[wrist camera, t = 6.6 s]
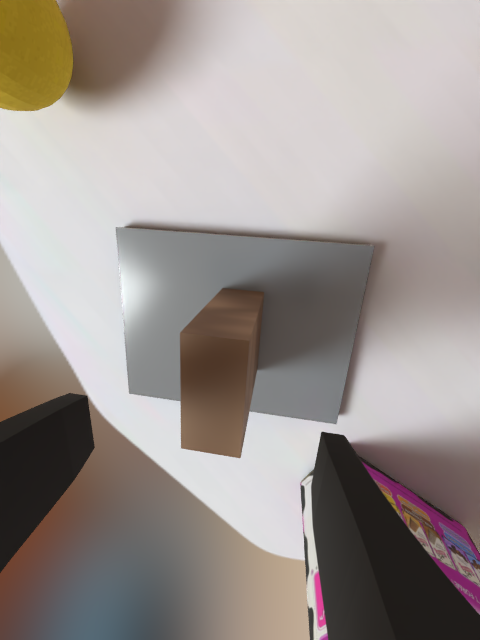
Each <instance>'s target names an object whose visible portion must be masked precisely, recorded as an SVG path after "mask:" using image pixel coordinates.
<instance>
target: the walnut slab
mask: <svg viewBox="0 0 480 640" xmlns="http://www.w3.org/2000/svg"><path fill="white" fill-rule="evenodd" d="M263 301H264V292H258V291H247V290H236V289H226V288H222V289H221V290H220V291H219V292H218V293H217V294H216V295H215V296H214V298H213V299H212V300H211V301H210V302H209V303H208V304H207V305H206V306H205V307H204V308H203V309H202V310H201V311H200V312H199V313H198V314H197V315H196V316H195V317H194V318H193V320H192V321H191V322H190V323H189V324H188V325H187V326H186V327H185V328H184V329H183V330H182V331H181V332H180V387H181V448H183V449H189V450H195V451H200V452H206V453H212V454H218V455H224V456H230V457H236V458H240V457H241V452H242V447H243V442H244V436H245V431H246V426H247V421H248V416H249V410H250V405H251V400H252V395H253V389H254V384H255V379H256V374H257V366H258V355H259V344H260V333H261V322H262V311H263Z"/></svg>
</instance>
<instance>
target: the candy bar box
mask: <svg viewBox="0 0 480 640" xmlns="http://www.w3.org/2000/svg"><path fill="white" fill-rule="evenodd" d="M358 457H359V456H358ZM359 458H360V457H359ZM360 460H361V462H362V463H363V465H364V466H365V468H366V469H367V471H368V472H369V473H370V475H371V476H372V478H373V479H374V481H375V482H376V484H377V485H378V487H379V488H380V489H381V491H382V492H383V494H384V495H385V496H386V498H387V499H388V501H389V502H390V503H391V505H392V506H393V508H394V509H395V510H396V512H397V513H398V514H399V516H400V517H401V519H402V520H403V521H404V523H405V524H406V525H407V527H408V528H409V529H410V531H411V532H412V533H413V534H414V536H415V537H416V538H417V540H418V541H419V542H420V543H421V545H422V546H423V547H424V548H425V550H426V551H427V552H428V554H429V555H430V556H431V557H432V559H433V560H434V561H435V562H436V564H437V565H438V566H439V567H440V569H441V570H442V571H443V572H444V573H445V575H446V576H447V577H448V578H449V580H450V581H451V582H452V583H453V584H454V586H455V587H456V588H457V589H458V590H459V591H460V593H461V594H462V595H463V596H464V597H465V598H466V600H467V601H468V602H469V603H470V604H471V605H472V606H473V608H474V609H475V610H476V611H477V612H478V613H479V615H480V553H479V552H478V550H477V548H476V546H475V545H474V543H473V541H472V539H471V538H470V536H469V534H468V532H467V531H466V529H465V527H464V526H462V525H461V524H460V523H458V522H457V521H455V520H454V519H452V518H451V517H449V516H448V515H446V514H445V513H443V512H442V511H440V510H439V509H437V508H436V507H434V506H432V505H431V504H429V503H428V502H426V501H425V500H423V499H422V498H420V497H419V496H417V495H416V494H414V493H413V492H411V491H410V490H408V489H406V488H405V487H403V486H402V485H400V484H399V483H398V482H396V481H395V480H393V479H392V478H390V477H389V476H387V475H386V474H384V473H383V472H381V471H380V470H378V469H377V468H375V467H374V466H372V465H371V464H369V463H368V462H366V461H365V460H363V459H362V458H360ZM313 473H314V470H313V471H312V472H311V473H309V474H308V475H307V476H306V477H305V478H304V479H303V480H302V481H301V483H300V485H301V501H302V516H303V533H304V551H305V565H306V581H307V602H308V616H309V631H310V640H328V635H327V627H326V620H325V613H324V606H323V599H322V591H321V584H320V577H319V570H318V563H317V555H316V548H315V541H314V533H313V524H312V501H311V483H312V478H313Z"/></svg>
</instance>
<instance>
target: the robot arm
mask: <svg viewBox="0 0 480 640" xmlns="http://www.w3.org/2000/svg"><path fill="white" fill-rule="evenodd" d="M93 449H94V441H93V434H92V426H91V420H90V412H89V405H88V397H87V396H85V395H78V394H71V393H69V394H66V395H63V396H60V397H58V398H56V399H53V400H50V401H48V402H46V403H43V404H41V405H38V406H36V407H34V408H31V409H29V410H27V411H25V412H22V413H20V414H18V415H15V416H13V417H11V418H8V419H6V420H4V421H2V422H0V572H1V571H2V570H3V569H4V567H5V566H6V565H7V563H8V562H9V561H10V559H11V558H12V557H13V556H14V554H15V553H16V552H17V551H18V550H19V548H20V547H21V546H22V545H23V543H24V542H25V541H26V540H27V538H28V537H29V536H30V535H31V533H32V532H33V531H34V530H35V528H36V527H37V526H38V525H39V523H40V522H41V521H42V520H43V519H44V517H45V516H46V515H47V514H48V512H49V511H50V510H51V509H52V507H53V506H54V505H55V504H56V502H57V501H58V500H59V499H60V497H61V496H62V495H63V494H64V492H65V491H66V490H67V488H68V487H69V486H70V485H71V483H72V482H73V481H74V479H75V478H76V476H77V475H78V473H79V472H80V470H81V469H82V467H83V466H84V464H85V462H86V461H87V459H88V458H89V456H90V454H91V452H92V451H93ZM311 501H312V524H313V533H314V541H315V548H316V555H317V563H318V570H319V577H320V584H321V591H322V599H323V606H324V613H325V620H326V627H327V635H328V640H480V615H479V613H478V612H477V611H476V610H475V609H474V608H473V606H472V605H471V604H470V603H469V602H468V601H467V600H466V598H465V597H464V596H463V595H462V594H461V593H460V591H459V590H458V589H457V588H456V587H455V586H454V584H453V583H452V582H451V581H450V580H449V578H448V577H447V576H446V575H445V573H444V572H443V571H442V570H441V569H440V567H439V566H438V565H437V564H436V562H435V561H434V560H433V559H432V557H431V556H430V555H429V554H428V552H427V551H426V550H425V548H424V547H423V546H422V545H421V543H420V542H419V541H418V540H417V538H416V537H415V536H414V534H413V533H412V532H411V531H410V529H409V528H408V527H407V525H406V524H405V523H404V521H403V520H402V519H401V517H400V516H399V514H398V513H397V512H396V510H395V509H394V508H393V506H392V505H391V503H390V502H389V501H388V499H387V498H386V496H385V495H384V494H383V492H382V491H381V489H380V488H379V487H378V485H377V484H376V482H375V481H374V479H373V478H372V476H371V475H370V473H369V472H368V471H367V469H366V468H365V466H364V465H363V463H362V462H361V460H360V458H359V457H358V455H357V454H356V452H355V451H354V449H353V448H352V446H351V445H350V443H349V442H348V440H347V439H346V437H345V436H344V435H339V434H332V433H326V432H321V437H320V442H319V447H318V453H317V458H316V463H315V468H314V473H313V478H312V483H311Z"/></svg>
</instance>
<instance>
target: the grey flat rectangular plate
mask: <svg viewBox="0 0 480 640" xmlns="http://www.w3.org/2000/svg"><path fill="white" fill-rule="evenodd" d="M116 237H117V250H118V262H119V274H120V286H121V299H122V311H123V323H124V336H125V348H126V360H127V372H128V385H129V394H136V395H142V396H149V397H156V398H163V399H169V400H176V401H181V387H180V332H181V331H182V330H183V329H184V328H185V327H186V326H187V325H188V324H189V323H190V322H191V321H192V320H193V318H194V317H195V316H196V315H197V314H198V313H199V312H200V311H201V310H202V309H203V308H204V307H205V306H206V305H207V304H208V303H209V302H210V301H211V300H212V299H213V298H214V296H215V295H216V294H217V293H218V292H219V291H220V290H221V289H222V288H226V289H236V290H247V291H258V292H264V301H263V311H262V322H261V333H260V344H259V355H258V366H257V374H256V379H255V384H254V389H253V395H252V400H251V405H250V410H249V411H251V412H257V413H264V414H271V415H278V416H284V417H291V418H298V419H305V420H312V421H318V422H325V423H332V424H337V419H338V414H339V410H340V405H341V400H342V396H343V391H344V386H345V382H346V377H347V372H348V368H349V363H350V358H351V354H352V349H353V344H354V340H355V335H356V330H357V326H358V321H359V316H360V312H361V307H362V302H363V297H364V293H365V288H366V283H367V279H368V274H369V269H370V265H371V260H372V255H373V251H374V246H372V245H364V244H351V243H337V242H323V241H309V240H295V239H281V238H267V237H253V236H240V235H226V234H212V233H198V232H184V231H170V230H156V229H143V228H129V227H116Z"/></svg>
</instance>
